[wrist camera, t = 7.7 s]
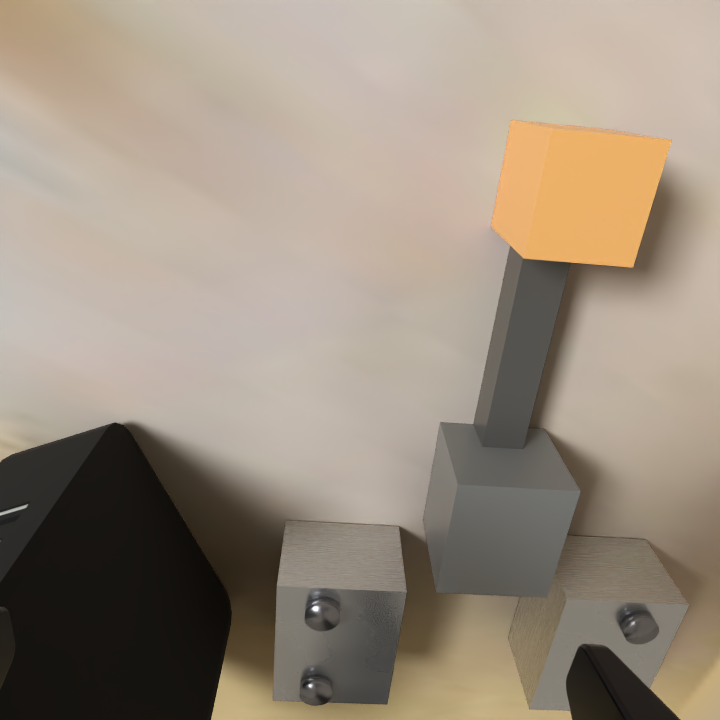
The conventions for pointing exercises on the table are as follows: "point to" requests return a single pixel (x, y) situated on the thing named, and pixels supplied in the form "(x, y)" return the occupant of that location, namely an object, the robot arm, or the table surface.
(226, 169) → the table surface
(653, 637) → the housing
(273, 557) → the table surface
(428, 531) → the orange and grey dumbbell
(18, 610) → the electronic device
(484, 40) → the table surface
